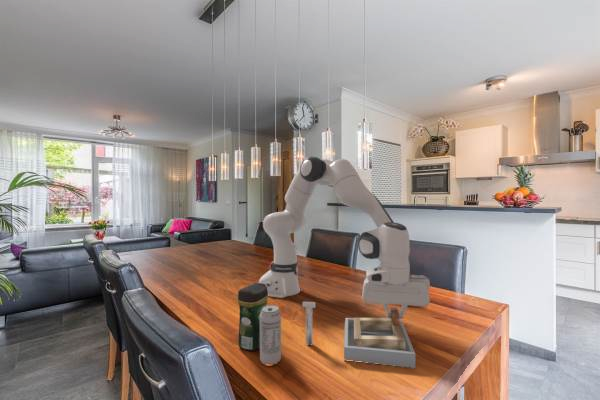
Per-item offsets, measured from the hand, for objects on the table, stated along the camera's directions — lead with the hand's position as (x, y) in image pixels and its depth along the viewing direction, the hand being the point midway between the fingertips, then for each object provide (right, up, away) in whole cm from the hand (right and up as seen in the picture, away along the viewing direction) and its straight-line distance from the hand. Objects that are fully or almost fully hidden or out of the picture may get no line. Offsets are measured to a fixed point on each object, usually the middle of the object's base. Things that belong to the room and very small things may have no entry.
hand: (394, 317), depth 88 cm
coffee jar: (-45, -8, 0) cm, 46 cm away
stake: (-27, -8, -1) cm, 28 cm away
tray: (-7, -8, -2) cm, 11 cm away
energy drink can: (-39, -9, -10) cm, 41 cm away
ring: (-6, -5, -2) cm, 8 cm away
